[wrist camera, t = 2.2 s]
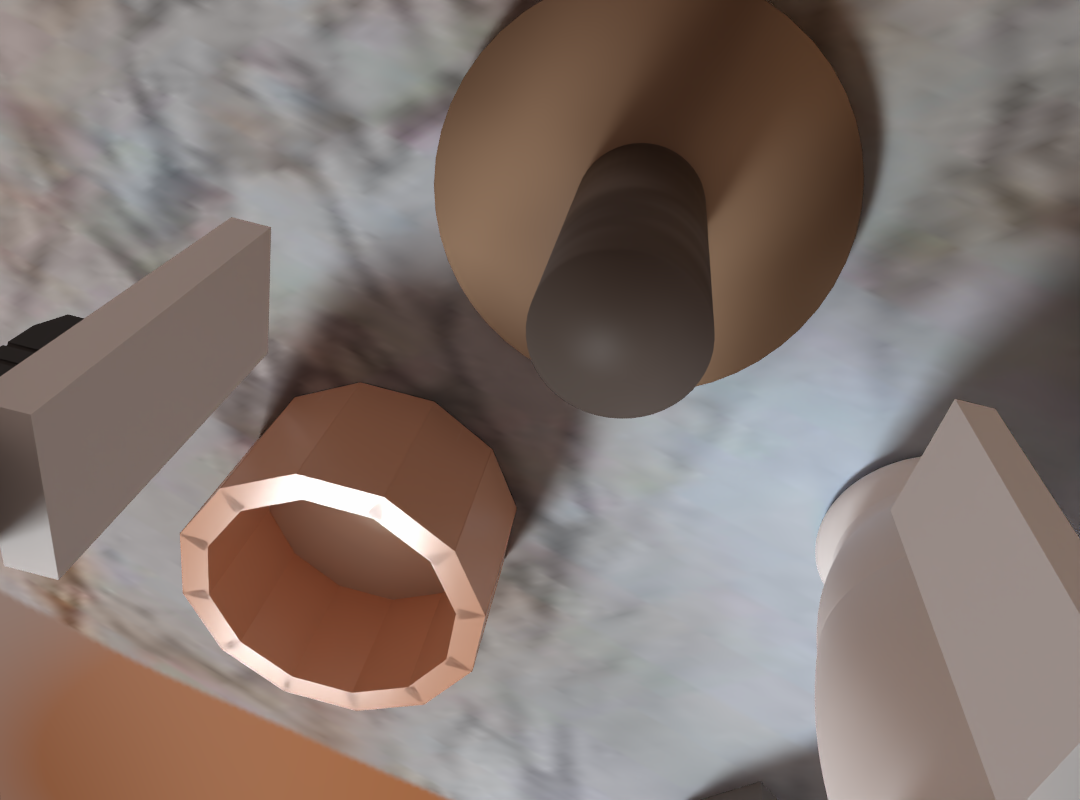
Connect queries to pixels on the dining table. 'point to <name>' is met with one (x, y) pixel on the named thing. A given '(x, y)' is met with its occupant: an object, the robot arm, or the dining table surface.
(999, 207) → the dining table surface
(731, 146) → the lid
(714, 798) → the dice cube
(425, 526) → the bowl
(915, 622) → the jar
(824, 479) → the dining table surface
